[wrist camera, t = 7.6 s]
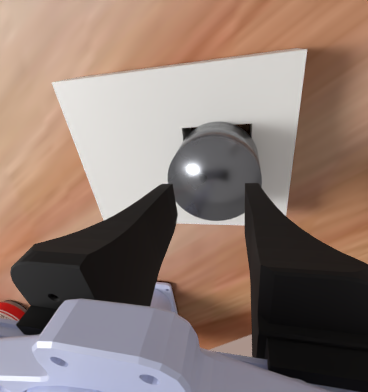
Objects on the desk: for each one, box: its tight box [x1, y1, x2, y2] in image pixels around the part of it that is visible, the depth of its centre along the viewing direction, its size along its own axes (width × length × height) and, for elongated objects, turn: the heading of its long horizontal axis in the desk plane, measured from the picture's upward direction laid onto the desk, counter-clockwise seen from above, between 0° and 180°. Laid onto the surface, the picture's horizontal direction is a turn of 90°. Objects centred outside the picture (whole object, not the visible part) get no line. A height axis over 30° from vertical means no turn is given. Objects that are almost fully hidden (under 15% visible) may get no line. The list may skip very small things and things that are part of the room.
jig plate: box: [52, 48, 307, 225], centre depth 19 cm, size 12×16×3 cm
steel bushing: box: [167, 122, 262, 221], centre depth 17 cm, size 6×6×6 cm
